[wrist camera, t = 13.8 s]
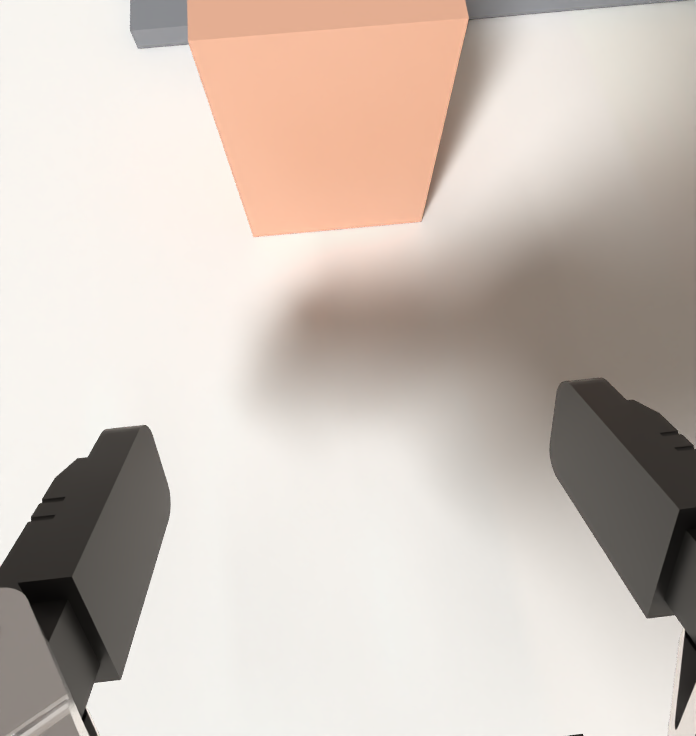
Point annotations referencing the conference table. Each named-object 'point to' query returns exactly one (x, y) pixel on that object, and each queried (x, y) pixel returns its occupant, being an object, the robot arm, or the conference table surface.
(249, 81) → the peach square prism
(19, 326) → the conference table surface
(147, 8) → the mat
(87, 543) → the robot arm
